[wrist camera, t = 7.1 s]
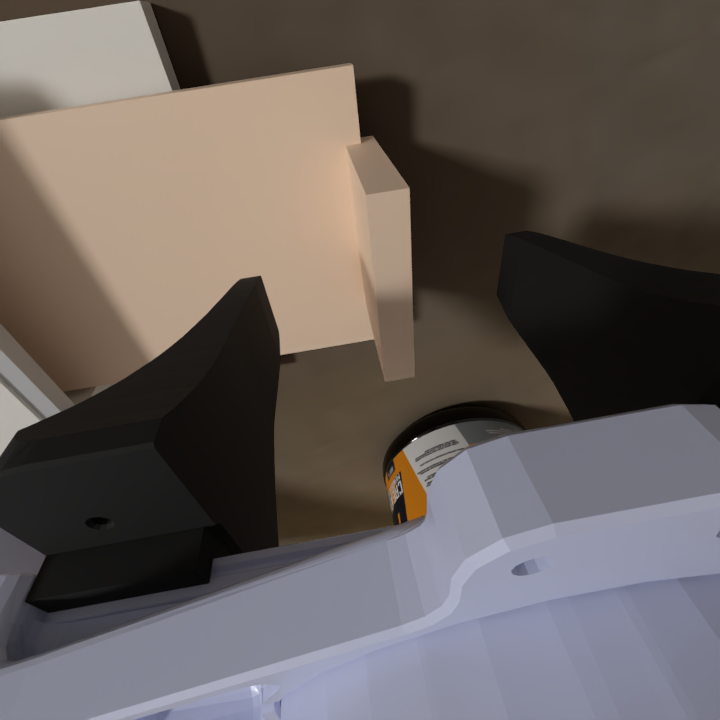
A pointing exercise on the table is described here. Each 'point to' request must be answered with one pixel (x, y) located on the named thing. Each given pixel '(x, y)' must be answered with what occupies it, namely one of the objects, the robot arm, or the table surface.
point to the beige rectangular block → (201, 224)
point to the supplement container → (435, 452)
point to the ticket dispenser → (60, 90)
